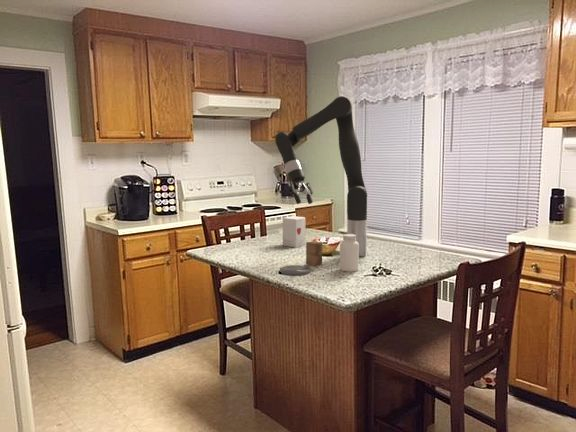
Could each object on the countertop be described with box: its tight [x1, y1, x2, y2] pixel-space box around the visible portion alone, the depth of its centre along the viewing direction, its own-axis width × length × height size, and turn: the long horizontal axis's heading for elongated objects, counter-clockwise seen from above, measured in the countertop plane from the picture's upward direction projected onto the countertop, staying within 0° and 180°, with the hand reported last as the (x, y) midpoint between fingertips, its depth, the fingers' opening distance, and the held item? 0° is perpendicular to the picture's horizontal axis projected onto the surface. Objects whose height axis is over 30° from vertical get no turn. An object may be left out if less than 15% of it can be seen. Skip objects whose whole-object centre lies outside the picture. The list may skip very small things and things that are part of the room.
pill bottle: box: [339, 233, 360, 273], centre depth 202 cm, size 8×8×15 cm
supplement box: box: [282, 215, 306, 248], centre depth 253 cm, size 9×9×15 cm
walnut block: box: [305, 240, 323, 267], centre depth 212 cm, size 5×5×10 cm
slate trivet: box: [279, 264, 312, 276], centre depth 201 cm, size 13×13×1 cm
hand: (305, 203), depth 221 cm, fingers open, 8 cm apart
